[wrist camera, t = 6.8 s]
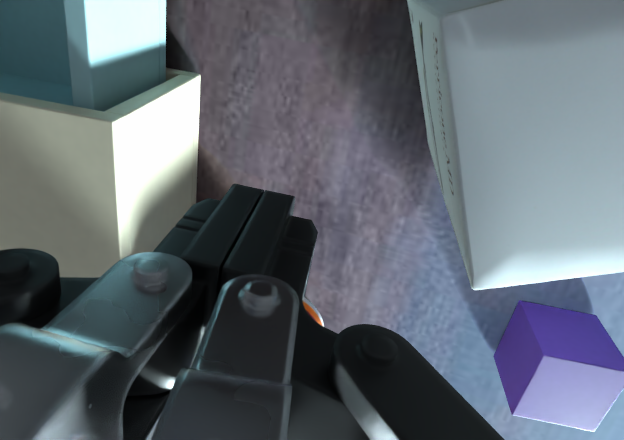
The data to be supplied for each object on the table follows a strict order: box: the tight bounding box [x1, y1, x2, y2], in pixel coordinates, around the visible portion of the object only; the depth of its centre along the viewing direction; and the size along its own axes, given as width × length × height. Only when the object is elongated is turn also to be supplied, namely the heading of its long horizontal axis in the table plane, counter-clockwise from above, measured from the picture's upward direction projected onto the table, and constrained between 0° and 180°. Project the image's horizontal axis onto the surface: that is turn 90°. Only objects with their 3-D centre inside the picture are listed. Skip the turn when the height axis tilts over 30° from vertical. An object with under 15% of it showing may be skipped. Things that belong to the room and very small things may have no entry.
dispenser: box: [0, 68, 201, 278], centre depth 22 cm, size 12×13×9 cm
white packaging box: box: [407, 0, 624, 290], centre depth 16 cm, size 7×7×13 cm
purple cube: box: [494, 300, 624, 432], centre depth 26 cm, size 4×4×4 cm
